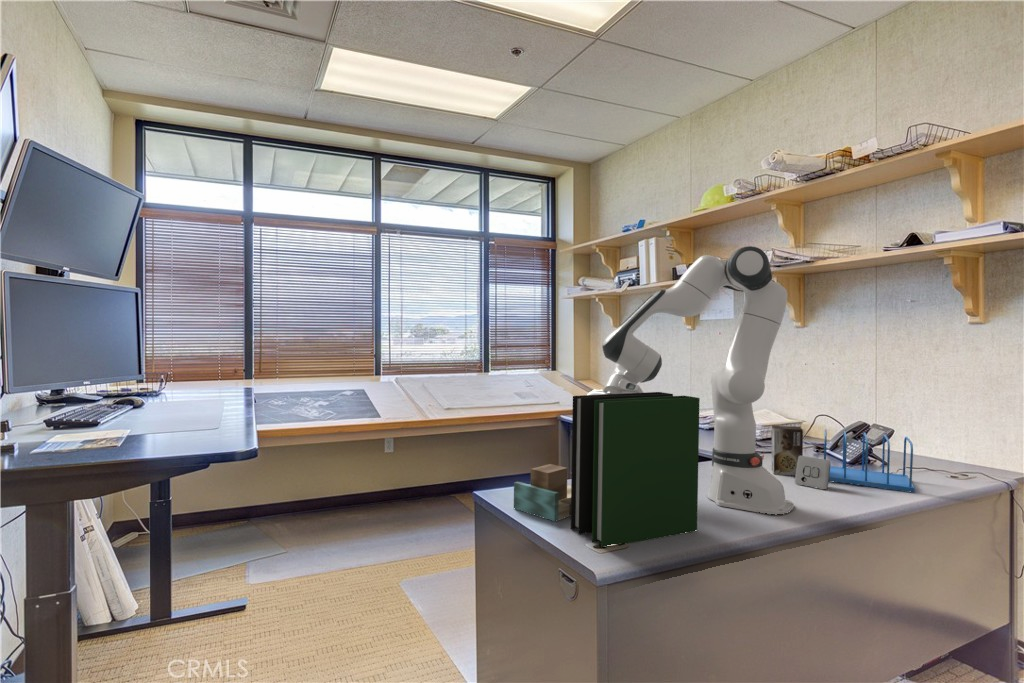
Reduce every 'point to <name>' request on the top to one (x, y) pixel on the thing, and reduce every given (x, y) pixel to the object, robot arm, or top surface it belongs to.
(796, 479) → the electrical switch
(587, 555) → the top surface
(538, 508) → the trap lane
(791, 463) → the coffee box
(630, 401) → the binders
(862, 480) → the file sorter
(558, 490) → the walnut block
